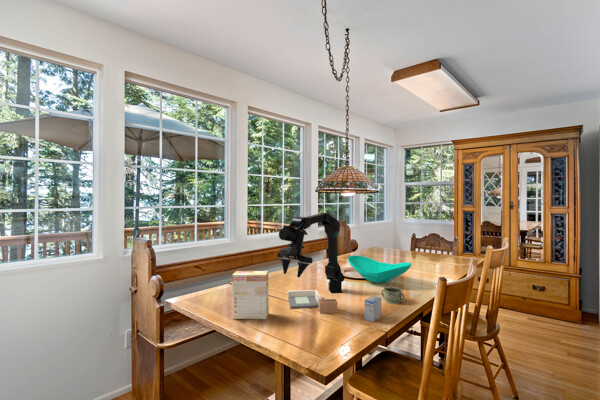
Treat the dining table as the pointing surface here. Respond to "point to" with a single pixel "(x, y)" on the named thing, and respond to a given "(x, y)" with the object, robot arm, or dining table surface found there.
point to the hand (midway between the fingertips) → (291, 275)
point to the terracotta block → (327, 305)
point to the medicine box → (372, 308)
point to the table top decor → (377, 268)
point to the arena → (303, 298)
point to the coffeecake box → (250, 295)
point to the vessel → (392, 295)
